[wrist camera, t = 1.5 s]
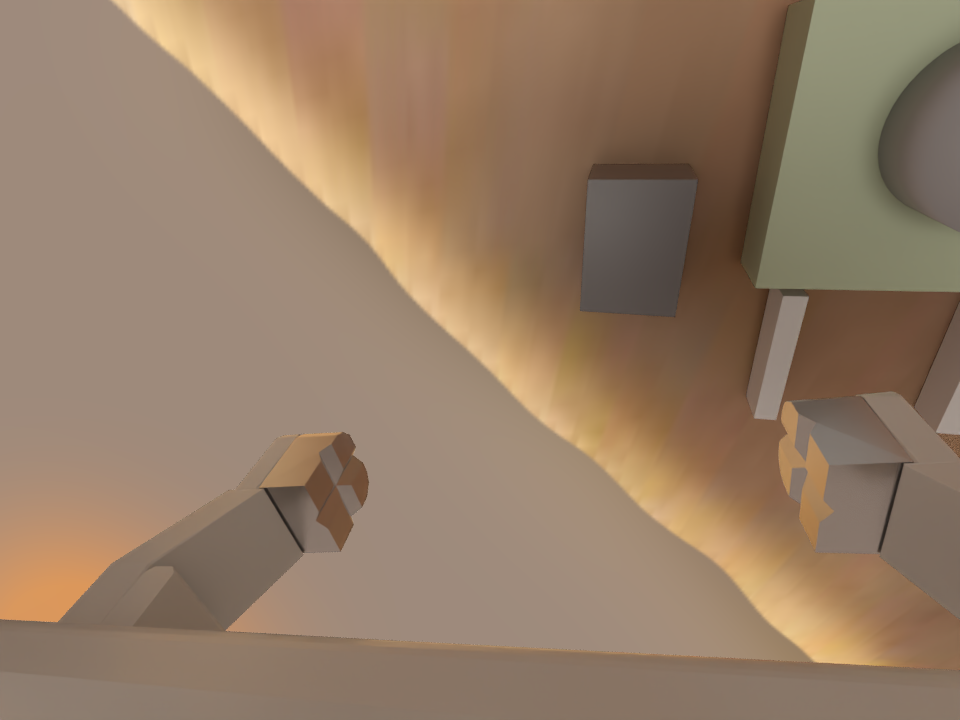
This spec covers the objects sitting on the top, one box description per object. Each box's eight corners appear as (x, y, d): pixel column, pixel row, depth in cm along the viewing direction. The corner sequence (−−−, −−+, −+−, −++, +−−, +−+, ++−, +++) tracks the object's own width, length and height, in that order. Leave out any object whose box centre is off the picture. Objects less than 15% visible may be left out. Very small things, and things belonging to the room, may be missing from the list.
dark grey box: (688, 163, 27) (698, 179, 23) (669, 285, 30) (675, 317, 26) (593, 164, 28) (587, 179, 24) (586, 281, 31) (580, 311, 28)
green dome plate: (1205, -42, 19) (1522, -101, 12) (975, 411, 29) (1077, 514, 22) (788, 5, 22) (855, -20, 16) (715, 393, 33) (737, 477, 26)
